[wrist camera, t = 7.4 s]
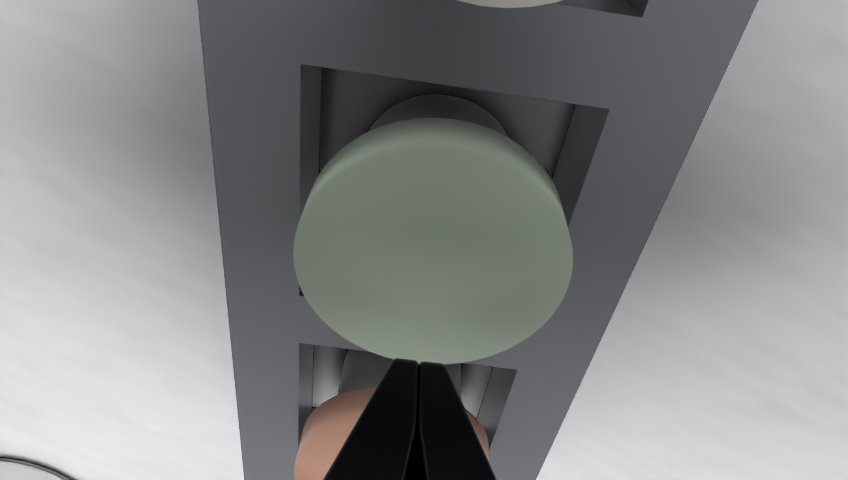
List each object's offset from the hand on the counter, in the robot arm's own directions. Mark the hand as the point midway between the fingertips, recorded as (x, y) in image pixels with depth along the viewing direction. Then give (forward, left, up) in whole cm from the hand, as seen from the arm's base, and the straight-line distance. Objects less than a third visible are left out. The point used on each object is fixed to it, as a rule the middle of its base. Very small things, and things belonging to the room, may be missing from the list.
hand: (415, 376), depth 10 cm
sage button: (0, 0, -7) cm, 7 cm away
